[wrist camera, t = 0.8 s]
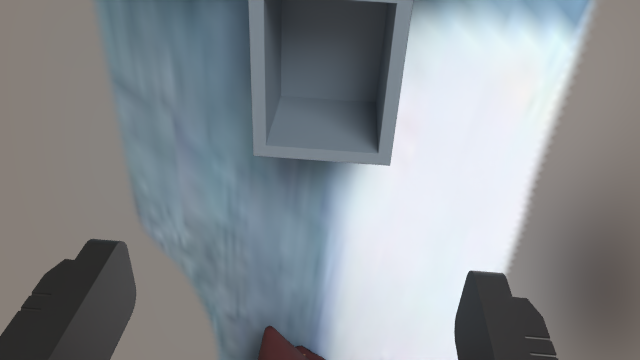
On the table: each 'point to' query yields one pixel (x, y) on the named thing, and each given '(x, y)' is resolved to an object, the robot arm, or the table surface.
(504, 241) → the table surface
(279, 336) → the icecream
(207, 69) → the table surface
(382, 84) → the slate crate
